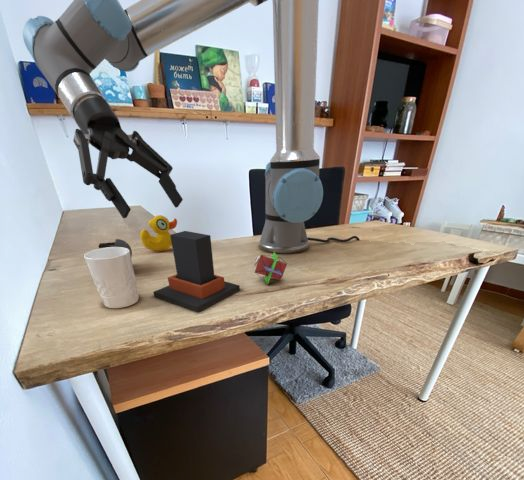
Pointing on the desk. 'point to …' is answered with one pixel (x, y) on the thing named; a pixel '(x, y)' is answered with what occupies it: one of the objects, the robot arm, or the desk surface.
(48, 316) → the desk surface
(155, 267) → the desk surface
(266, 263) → the geometric puzzle
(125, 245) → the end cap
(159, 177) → the robot arm
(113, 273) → the white cup
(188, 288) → the base pad
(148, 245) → the duckling
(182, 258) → the pad block
